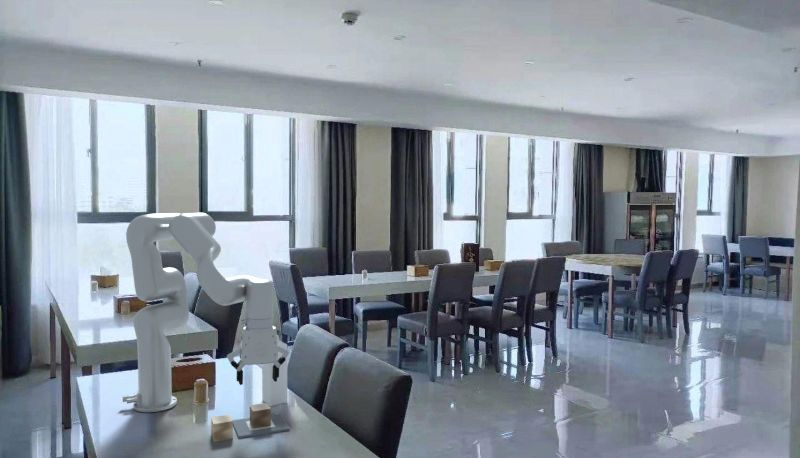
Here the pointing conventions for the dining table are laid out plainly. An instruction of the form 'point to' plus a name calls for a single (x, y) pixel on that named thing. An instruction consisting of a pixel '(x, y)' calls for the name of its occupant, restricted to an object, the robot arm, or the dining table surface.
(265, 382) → the milk
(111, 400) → the dining table surface
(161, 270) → the robot arm
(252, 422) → the walnut block
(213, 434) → the oak block
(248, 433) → the mat
